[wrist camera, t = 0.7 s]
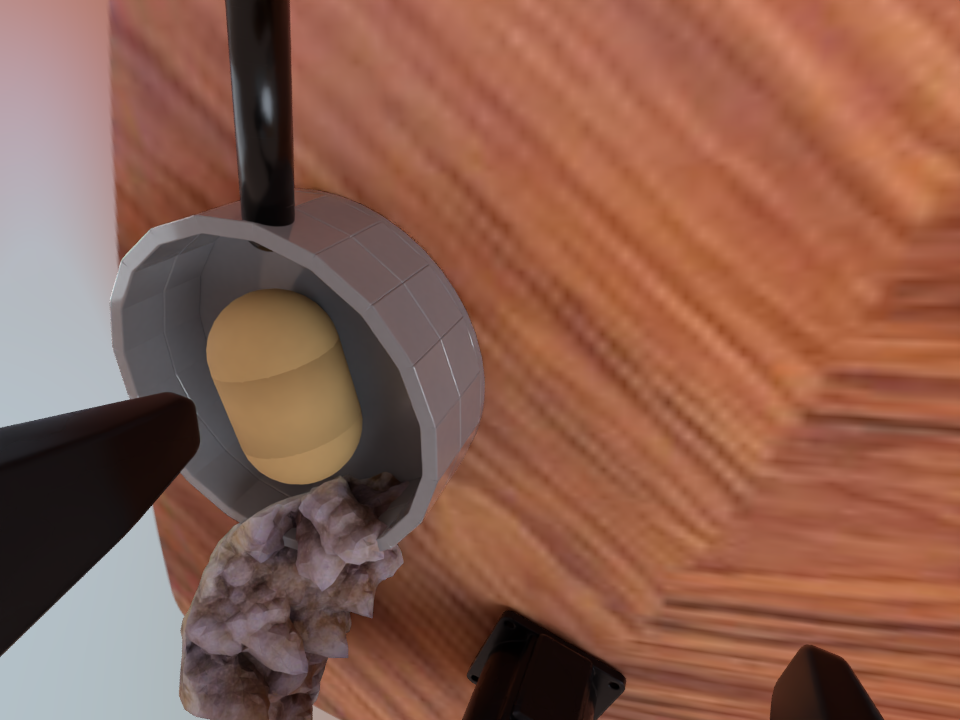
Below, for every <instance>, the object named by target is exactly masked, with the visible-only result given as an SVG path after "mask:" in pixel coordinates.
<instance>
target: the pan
mask: <svg viewBox="0 0 960 720" xmlns="http://www.w3.org/2000/svg"><path fill="white" fill-rule="evenodd" d="M294 194H295V221H294V222H293V223H292V224H290V225H287V226H280V227H275V226H267V225H262V224H259V223H254V222H250V221H246V220H243V219H242V218H241V204H240V200H239V201H235V202H232V203H229V204H226V205H223V206H219V207H216V208H213V209H210V210H207V211H204V212H201V213H197V214H194V215H191V216H188V217H185V218H182V219H178V220H175V221H172V222H169V223H166V224H163V225H159V226H156V227H153V228H151V229H150V230H149V231H148V232H147V233H146V234H145V235H144V236H143V237H142V238H141V239H140V240H139V241H138V242H137V244H136V245H135V246H134V247H133V248H132V249H131V250H130V251H129V252H128V253H127V254H126V255H125V256H124V257H123V258H122V261H121V263H120V266H119V270H118V273H117V277H116V280H115V284H114V287H113V291H112V294H111V298H110V317H111V332H112V347H113V351H114V354H115V356H116V360H117V363H118V366H119V369H120V372H121V375H122V378H123V381H124V384H125V387H126V390H127V393H128V395H129V398H130V399H135V398H139V397H144V396H148V395H153V394H158V393H162V392H174V393H176V394H179V395H181V396H184V397H186V398H189V399H191V400H192V401H193V402H194V404H195V406H196V411H197V418H198V425H199V433H200V446H199V449H198V451H197V453H196V454H195V456H194V457H193V458H192V459H191V460H190V462H189V463H188V464H187V465H186V466H185V467H184V469H183V470H182V471H181V472H180V473H181V474H182V475H183V476H184V478H185V479H186V480H187V481H189V483H190V484H191V485H193V486H194V487H195V488H196V489H197V490H198V491H200V492H201V493H202V494H203V495H204V496H205V497H207V498H208V499H209V500H210V501H211V502H212V503H213V504H215V505H216V506H217V507H218V508H219V509H220V510H222V511H223V512H224V513H225V514H227V515H228V516H229V517H231V518H233V519H234V520H236V521H238V522H239V523H241V524H242V523H244V522H245V521H246V520H248V519H249V518H250V517H252V516H253V515H254V514H256V513H257V512H259V511H261V510H263V509H265V508H266V507H268V506H269V505H271V504H274V503H276V502H279V501H281V500H284V499H286V498H289V497H293V496H296V495H300V494H304V493H307V492H310V491H311V489H312V488H313V487H317V486H320V485H322V484H323V483H325V482H328V481H331V480H333V479H334V478H336V477H338V476H340V475H341V476H342V477H343V476H345V475H347V474H349V475H351V476H353V477H355V478H357V479H359V480H362V479H366V478H371V477H373V476H375V475H378V474H380V473H383V472H388V473H391V474H392V475H394V476H395V478H396V479H397V480H398V481H400V482H404V481H409V483H410V484H409V485H408V486H407V488H406V489H405V490H404V491H403V493H402V494H401V495H400V496H399V497H398V498H397V499H395V500H394V501H393V502H391V504H390V506H389V508H388V509H387V511H385V512H384V513H383V514H381V515H380V516H379V518H378V519H379V520H380V521H381V522H383V523H385V524H386V525H387V527H386V528H385V529H384V531H383V532H382V533H381V534H380V536H379V537H378V538H377V539H376V541H377V543H378V547H379V551H384V550H387V549H391V548H392V547H394V546H395V545H396V544H398V543H399V542H400V541H401V540H402V539H403V538H405V537H406V536H407V535H408V534H409V533H410V532H411V531H413V530H414V529H415V528H416V527H417V526H418V525H419V524H421V523H422V521H423V520H424V518H425V517H426V515H427V514H428V512H429V511H430V509H431V508H432V506H433V505H434V503H435V502H436V500H437V499H438V497H439V496H440V494H441V493H442V491H443V490H444V488H445V486H446V485H447V483H448V482H449V480H450V479H451V477H452V476H453V474H454V473H455V471H456V470H457V468H458V467H459V465H460V464H461V462H462V461H463V459H464V457H465V455H466V453H467V450H468V448H469V446H470V444H471V442H472V441H473V439H474V437H475V435H476V432H477V429H478V426H479V423H480V420H481V417H482V411H483V404H484V393H485V377H484V370H483V362H482V355H481V352H480V348H479V344H478V340H477V337H476V333H475V331H474V328H473V326H472V323H471V321H470V318H469V316H468V313H467V311H466V309H465V307H464V306H463V304H462V302H461V300H460V298H459V296H458V294H457V293H456V291H455V289H454V288H453V286H452V285H451V283H450V282H449V281H448V279H447V278H446V276H445V275H444V273H443V272H442V270H441V269H440V268H439V267H438V266H437V264H436V263H435V262H434V261H433V260H432V259H431V258H430V256H429V255H428V254H427V253H426V252H425V251H424V249H422V248H421V247H420V246H419V245H418V244H417V243H416V242H415V241H414V240H413V239H412V238H410V237H409V236H408V235H407V234H406V233H405V232H404V231H402V230H401V229H400V228H398V227H397V226H396V225H394V224H393V223H391V222H390V221H389V220H387V219H386V218H385V217H383V216H381V215H380V214H378V213H376V212H374V211H372V210H371V209H369V208H367V207H365V206H363V205H361V204H359V203H356V202H354V201H352V200H349V199H347V198H344V197H342V196H339V195H335V194H331V193H327V192H323V191H319V190H309V189H299V188H294ZM248 240H249V241H254V242H256V243H258V244H260V245H262V246H264V247H266V248H268V249H270V250H272V251H274V252H266V251H262V250H259V249H257V248H256V247H254V246H253V245H252V244H251V243H250V242H249V241H248ZM273 288H277V289H284V290H290V291H294V292H296V293H299V294H302V295H304V296H306V297H308V298H309V299H311V300H312V301H314V302H315V303H317V304H318V305H319V306H320V307H321V308H322V309H323V310H324V311H325V312H326V313H327V314H328V316H329V317H330V319H331V320H332V321H333V323H334V326H335V328H336V330H337V333H338V335H339V338H340V342H341V345H342V348H343V351H344V355H345V358H346V361H347V364H348V368H349V371H350V374H351V377H352V381H353V384H354V387H355V390H356V394H357V397H358V400H359V403H360V407H361V413H362V418H363V421H362V433H361V437H360V441H359V444H358V446H357V448H356V450H355V452H354V454H353V455H352V457H351V458H350V460H349V461H348V462H347V463H346V464H345V465H344V466H343V467H342V468H341V469H340V470H339V471H337V472H336V473H335V474H333V475H331V476H330V477H328V478H326V479H323V480H321V481H318V482H315V483H310V484H286V483H282V482H279V481H276V480H273V479H271V478H269V477H267V476H266V475H264V474H262V473H261V472H259V471H258V470H257V469H256V468H255V467H254V466H253V464H252V463H251V462H250V461H249V460H248V459H247V457H246V455H245V454H244V452H243V450H242V448H241V446H240V443H239V441H238V439H237V436H236V434H235V431H234V429H233V427H232V424H231V422H230V420H229V417H228V415H227V412H226V410H225V408H224V405H223V403H222V400H221V398H220V396H219V393H218V391H217V389H216V386H215V384H214V381H213V379H212V377H211V373H210V369H209V366H208V363H207V353H206V347H207V341H208V336H209V333H210V330H211V328H212V326H213V323H214V321H215V320H216V318H217V317H218V316H219V314H220V313H221V311H222V310H223V309H224V308H226V307H227V306H228V305H229V304H230V303H231V302H232V301H234V300H235V299H237V298H239V297H241V296H243V295H245V294H247V293H250V292H253V291H256V290H261V289H273ZM283 540H284V546H287V547H289V548H292V549H295V550H298V542H297V541H296V528H291V529H290V530H289V531H288V532H287V533H286V534H284V535H283Z"/></svg>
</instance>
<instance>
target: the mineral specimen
mask: <svg viewBox="0 0 960 720" xmlns="http://www.w3.org/2000/svg"><path fill="white" fill-rule="evenodd" d="M409 484H410V483H409V481H404V482H400V481H398V480H397V479H396V478H395V476H394V475H392V474H391V473H388V472H383V473H380V474H378V475H375V476H373V477H371V478H366V479H362V480H359V479H357V478H355V477H353V476H351V475H349V474H347V475H345V476H343V477H342V476H341V475H340V476H338V477H336V478H334V479H333V480H331V481H328V482H325V483H323V484H322V485H320V486H317V487H313V488H312V489H311V491H310V492H307V493H304V494H300V495H296V496H293V497H289V498H286V499H284V500H281V501H279V502H276V503H274V504H271V505H269V506H268V507H266V508H265V509H263V510H261V511H259V512H257V513H256V514H254V515H253V516H252V517H250V518H249V519H248V520H246V521H245V522H244V523H242V524H241V523H239V524H236V525H234V526H233V527H232V529H231V530H230V531H229V532H228V533H227V534H226V535H225V536H224V537H223V538H222V539H221V540H220V541H219V542H218V544H217V545H216V547H215V549H214V551H213V552H212V554H211V556H210V560H209V563H208V565H207V566H206V568H205V569H204V571H203V574H202V577H201V580H200V584H199V586H198V589H197V591H196V593H195V596H194V598H193V601H192V603H191V606H190V608H189V610H188V612H187V613H186V615H185V617H184V618H183V621H182V627H181V635H182V660H181V672H180V687H179V697H180V699H181V702H182V704H183V706H184V709H185V710H186V711H188V712H189V713H191V714H192V715H194V716H196V717H200V718H206V719H210V720H312V711H313V708H312V705H313V704H314V702H315V701H316V700H317V697H318V694H319V691H320V681H321V678H322V675H323V672H324V670H325V665H326V662H327V659H328V658H348V644H347V639H346V633H347V632H349V631H350V628H351V617H350V612H353V613H356V614H359V615H362V616H366V617H370V618H373V605H374V597H375V591H376V588H377V586H378V584H379V583H380V582H381V581H382V580H386V578H389V577H392V576H393V575H394V573H395V572H396V570H397V569H398V568H399V567H400V566H401V565H402V564H403V563H404V562H403V557H402V552H401V550H400V548H399V546H398V544H396V545H395V546H394V547H392V548H391V549H387V550H384V551H379V547H378V543H377V541H376V539H377V538H378V537H379V536H380V534H381V533H382V532H383V531H384V529H385V528H386V527H387V525H386V524H385V523H383V522H381V521H380V520H379V519H378V518H379V516H380V515H381V514H383V513H384V512H385V511H387V509H388V508H389V506H390V504H391V502H393V501H394V500H395V499H397V498H398V497H399V496H400V495H401V494H402V493H403V491H404V490H405V489H406V488H407V486H408V485H409ZM291 528H296V541H297V542H298V550H295V549H292V548H289V547H287V546H284V540H283V535H284V534H286V533H287V532H288V531H289V530H290V529H291Z"/></svg>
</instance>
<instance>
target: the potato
mask: <svg viewBox="0 0 960 720" xmlns="http://www.w3.org/2000/svg"><path fill="white" fill-rule="evenodd" d="M206 353H207V363H208V366H209V369H210V373H211V377H212V379H213V381H214V384H215V386H216V389H217V391H218V393H219V396H220V398H221V400H222V403H223V405H224V408H225V410H226V412H227V415H228V417H229V420H230V422H231V424H232V427H233V429H234V431H235V434H236V436H237V439H238V441H239V443H240V446H241V448H242V450H243V452H244V454H245V455H246V457H247V459H248V460H249V461H250V462H251V463H252V464H253V466H254V467H255V468H256V469H257V470H258V471H259V472H261V473H262V474H264V475H266V476H267V477H269V478H271V479H273V480H276V481H279V482H282V483H286V484H310V483H315V482H318V481H321V480H323V479H326V478H328V477H330V476H331V475H333V474H335V473H336V472H337V471H339V470H340V469H341V468H342V467H343V466H344V465H345V464H346V463H347V462H348V461H349V460H350V458H351V457H352V455H353V454H354V452H355V450H356V448H357V446H358V444H359V441H360V437H361V433H362V421H363V418H362V413H361V407H360V403H359V400H358V397H357V394H356V390H355V387H354V384H353V381H352V377H351V374H350V371H349V368H348V364H347V361H346V358H345V355H344V351H343V348H342V345H341V342H340V338H339V335H338V333H337V330H336V328H335V326H334V323H333V321H332V320H331V319H330V317H329V316H328V314H327V313H326V312H325V311H324V310H323V309H322V308H321V307H320V306H319V305H318V304H317V303H315V302H314V301H312V300H311V299H309V298H308V297H306V296H304V295H302V294H299V293H296V292H294V291H290V290H284V289H277V288H273V289H261V290H256V291H253V292H250V293H247V294H245V295H243V296H241V297H239V298H237V299H235V300H234V301H232V302H231V303H230V304H229V305H228V306H227V307H226V308H224V309H223V310H222V311H221V313H220V314H219V316H218V317H217V318H216V320H215V321H214V323H213V326H212V328H211V330H210V333H209V336H208V341H207V347H206Z"/></svg>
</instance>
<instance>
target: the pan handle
mask: <svg viewBox="0 0 960 720" xmlns="http://www.w3.org/2000/svg"><path fill="white" fill-rule="evenodd" d="M225 6H226V19H227V32H228V45H229V59H230V72H231V85H232V98H233V112H234V125H235V138H236V151H237V165H238V178H239V191H240V204H241V218H242V219H243V220H246V221H250V222H254V223H259V224H262V225H267V226H275V227H280V226H287V225H290V224H292V223H293V222H294V221H295V194H294V155H293V116H292V77H291V38H290V0H225ZM248 241H249V240H248ZM249 242H250V243H251V244H252V245H253V246H254V247H256V248H257V249H259V250H262V251H266V252H274V251H272V250H270V249H268V248H266V247H264V246H262V245H260V244H258V243H256V242H254V241H249Z"/></svg>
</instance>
